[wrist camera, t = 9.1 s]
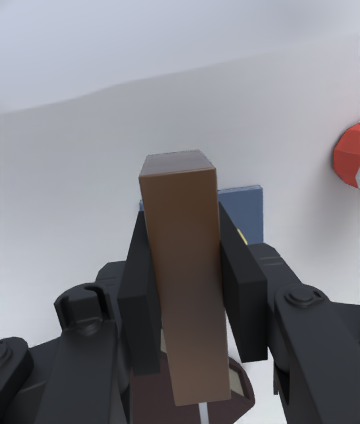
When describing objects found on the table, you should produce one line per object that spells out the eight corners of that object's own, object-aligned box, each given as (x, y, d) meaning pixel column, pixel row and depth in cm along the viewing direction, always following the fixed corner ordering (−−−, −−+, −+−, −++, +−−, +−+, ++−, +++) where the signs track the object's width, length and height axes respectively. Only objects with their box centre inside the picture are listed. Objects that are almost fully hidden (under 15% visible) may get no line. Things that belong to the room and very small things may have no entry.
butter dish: (139, 199, 28) (139, 203, 27) (259, 184, 28) (262, 187, 27) (159, 313, 33) (159, 319, 32) (261, 300, 33) (264, 306, 32)
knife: (146, 155, 13) (138, 176, 9) (199, 149, 13) (216, 167, 9) (189, 445, 19) (196, 536, 15) (223, 441, 19) (239, 530, 15)
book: (121, 480, 43) (115, 535, 37) (1, 432, 38) (-27, 487, 32) (245, 366, 36) (260, 413, 31) (119, 291, 31) (110, 330, 26)
